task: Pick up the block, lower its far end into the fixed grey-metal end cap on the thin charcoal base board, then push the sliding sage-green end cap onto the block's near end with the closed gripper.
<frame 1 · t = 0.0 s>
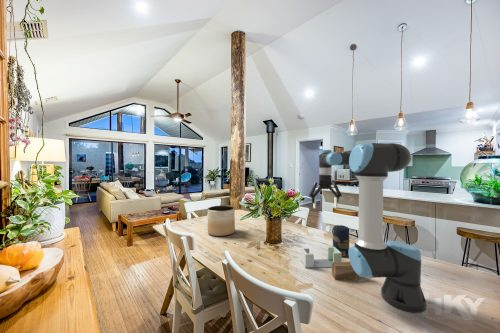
hand: (325, 207, 138), 28 cm above the table, fingers open, 13 cm apart
end cap b: (334, 256, 122), point 4 cm above the table, slide at 0.0 cm
endcap base: (320, 263, 122), on the table
planter: (221, 232, 176), on the table
canister: (340, 254, 134), on the table
block: (345, 277, 107), on the table
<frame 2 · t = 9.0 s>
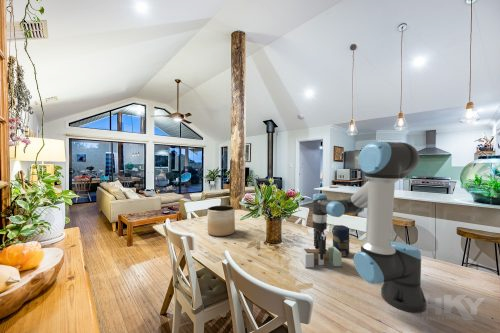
hand: (319, 262, 122), 1 cm above the table, fingers closed on block, 4 cm apart
block: (316, 262, 122), resting on endcap base, touching gripper
everything else where it was.
when the fingers open (1 cm above the table, at t = 9.2 s): block stays where it is, resting on endcap base.
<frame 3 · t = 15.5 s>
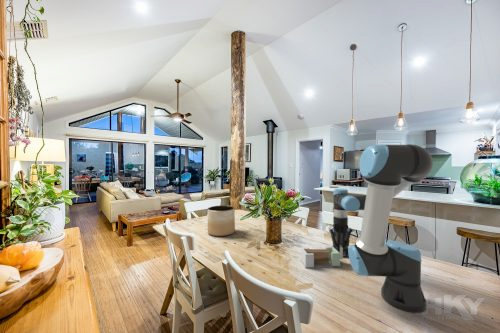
hand: (340, 258, 122), 3 cm above the table, fingers closed
end cap b: (332, 256, 122), point 4 cm above the table, slide at 0.9 cm, touching gripper
block: (316, 262, 122), resting on endcap base
everything else where it was.
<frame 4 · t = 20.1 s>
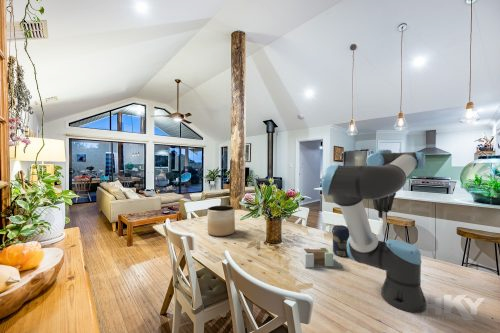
hand: (382, 223, 114), 24 cm above the table, fingers closed
end cap b: (326, 256, 122), point 4 cm above the table, slide at 4.5 cm
everything else where it was.
at the end: block 0.4 cm from the target spot on the endcap base, point 0.4 cm above the endcap base's base; end cap b slide at 4.5 cm; block tilted 0° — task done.
